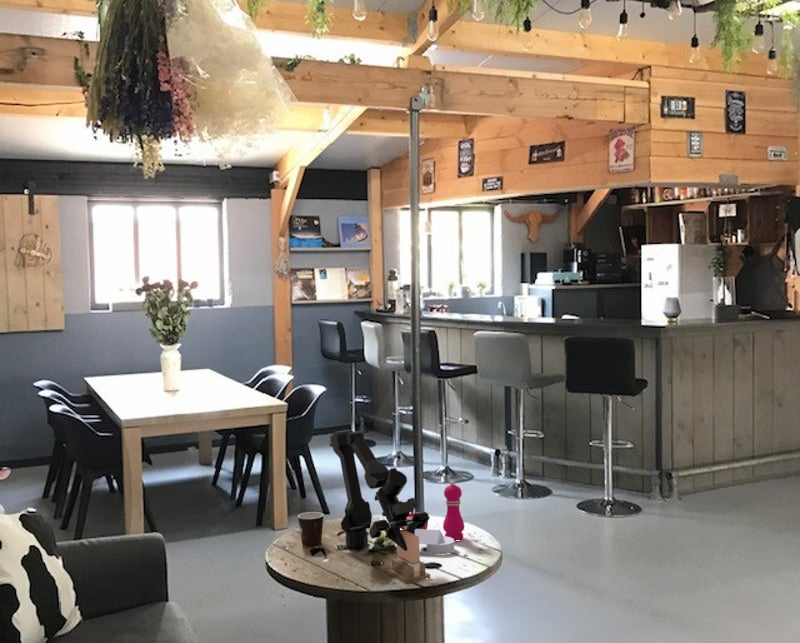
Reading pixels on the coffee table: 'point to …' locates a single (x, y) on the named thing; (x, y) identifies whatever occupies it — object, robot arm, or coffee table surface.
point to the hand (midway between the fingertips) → (410, 549)
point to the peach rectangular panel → (409, 547)
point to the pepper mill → (453, 513)
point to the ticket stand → (408, 570)
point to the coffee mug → (311, 528)
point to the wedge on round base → (435, 541)
